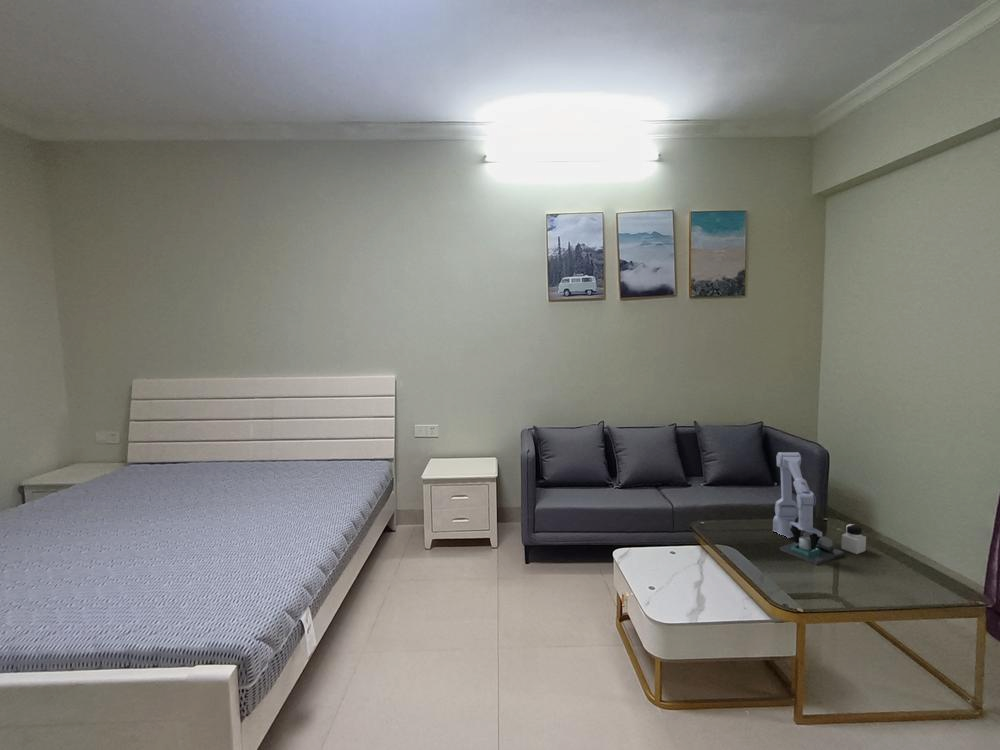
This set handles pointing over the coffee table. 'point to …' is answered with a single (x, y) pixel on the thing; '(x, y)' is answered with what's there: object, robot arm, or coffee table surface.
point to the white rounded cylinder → (805, 543)
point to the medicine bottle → (854, 539)
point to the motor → (814, 550)
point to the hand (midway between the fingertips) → (805, 545)
